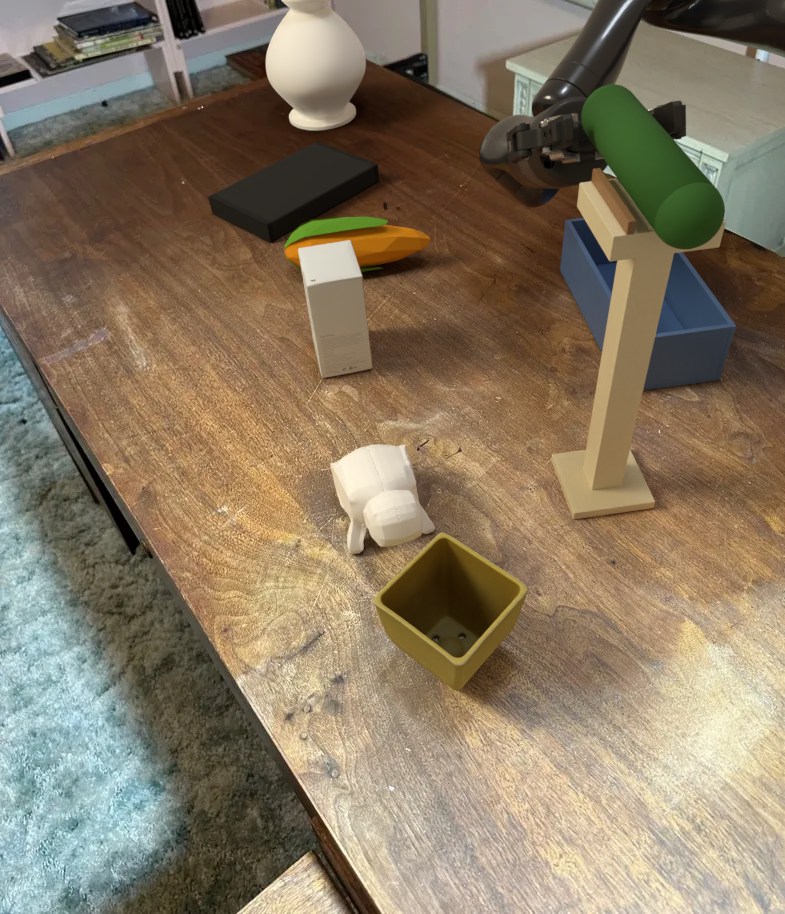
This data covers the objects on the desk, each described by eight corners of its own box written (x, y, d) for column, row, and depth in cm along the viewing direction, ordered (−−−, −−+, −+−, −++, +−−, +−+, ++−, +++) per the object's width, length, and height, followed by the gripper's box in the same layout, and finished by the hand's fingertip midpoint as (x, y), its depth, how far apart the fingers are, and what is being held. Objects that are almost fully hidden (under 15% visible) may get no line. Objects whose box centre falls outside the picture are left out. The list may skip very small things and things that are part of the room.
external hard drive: (212, 213, 120) (207, 195, 118) (319, 158, 131) (317, 140, 128) (270, 243, 113) (267, 224, 110) (379, 181, 123) (378, 163, 121)
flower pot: (524, 646, 65) (531, 586, 58) (460, 722, 61) (460, 667, 54) (444, 590, 69) (442, 529, 63) (379, 658, 65) (369, 599, 59)
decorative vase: (335, 144, 134) (314, -18, 116) (256, 127, 141) (225, -28, 123) (388, 104, 144) (377, -50, 126) (311, 90, 151) (291, -58, 133)
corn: (280, 208, 104) (427, 196, 103) (290, 255, 110) (429, 244, 109) (277, 240, 99) (431, 227, 99) (288, 287, 105) (433, 276, 104)
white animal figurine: (334, 514, 80) (363, 591, 67) (317, 441, 76) (344, 508, 63) (411, 493, 81) (456, 564, 68) (398, 420, 78) (442, 481, 64)
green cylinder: (571, 133, 64) (577, 79, 61) (623, 127, 64) (631, 72, 61) (661, 266, 50) (674, 204, 47) (727, 257, 50) (744, 195, 47)
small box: (373, 369, 91) (363, 276, 82) (321, 379, 91) (304, 286, 81) (362, 329, 97) (351, 238, 87) (312, 338, 96) (296, 247, 87)
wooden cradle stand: (623, 443, 80) (684, 156, 58) (653, 508, 74) (736, 216, 52) (548, 453, 80) (580, 169, 57) (572, 519, 74) (620, 231, 51)
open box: (641, 259, 103) (651, 208, 98) (719, 380, 86) (736, 326, 80) (559, 270, 103) (565, 219, 97) (622, 393, 85) (632, 340, 80)
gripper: (636, 178, 75) (714, 163, 60) (493, 196, 75) (535, 185, 59) (633, 95, 73) (714, 57, 57) (486, 113, 72) (528, 79, 57)
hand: (623, 122), depth 58 cm, fingers open, 8 cm apart
